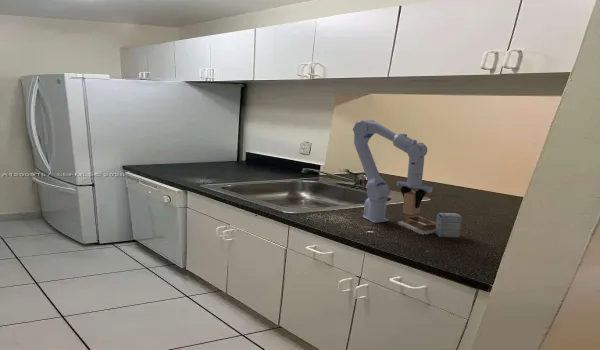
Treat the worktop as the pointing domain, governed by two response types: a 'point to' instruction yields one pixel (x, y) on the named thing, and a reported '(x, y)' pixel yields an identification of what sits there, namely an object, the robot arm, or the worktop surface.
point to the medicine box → (448, 224)
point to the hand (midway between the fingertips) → (411, 206)
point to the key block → (410, 203)
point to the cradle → (419, 224)
